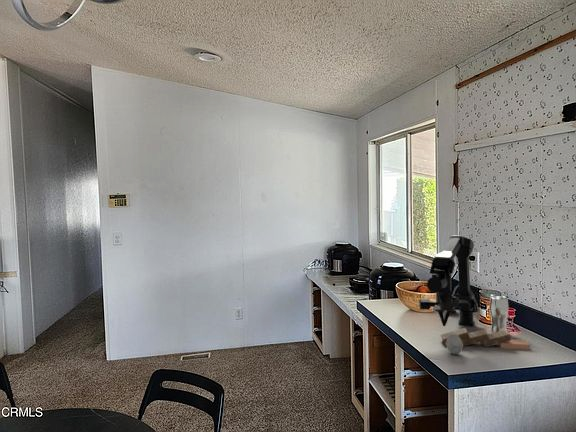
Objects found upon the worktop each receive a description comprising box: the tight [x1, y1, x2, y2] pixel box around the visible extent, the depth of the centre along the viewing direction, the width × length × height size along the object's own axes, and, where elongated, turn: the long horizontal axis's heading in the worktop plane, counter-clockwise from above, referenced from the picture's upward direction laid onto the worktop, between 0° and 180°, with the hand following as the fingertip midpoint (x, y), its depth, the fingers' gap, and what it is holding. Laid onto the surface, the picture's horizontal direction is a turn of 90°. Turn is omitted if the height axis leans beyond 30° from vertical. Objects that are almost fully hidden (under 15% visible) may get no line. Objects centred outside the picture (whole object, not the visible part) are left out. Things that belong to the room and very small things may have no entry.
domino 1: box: [440, 327, 470, 346], centre depth 157 cm, size 2×5×10 cm
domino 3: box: [480, 330, 512, 348], centre depth 154 cm, size 2×5×10 cm
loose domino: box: [497, 338, 531, 351], centre depth 153 cm, size 2×5×10 cm
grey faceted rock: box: [445, 334, 464, 355], centre depth 147 cm, size 6×7×7 cm
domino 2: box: [461, 328, 489, 347], centre depth 156 cm, size 2×5×10 cm
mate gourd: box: [443, 284, 459, 315], centre depth 198 cm, size 8×8×15 cm
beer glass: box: [489, 295, 509, 333], centre depth 168 cm, size 7×7×15 cm
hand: (443, 325), depth 158 cm, fingers closed
